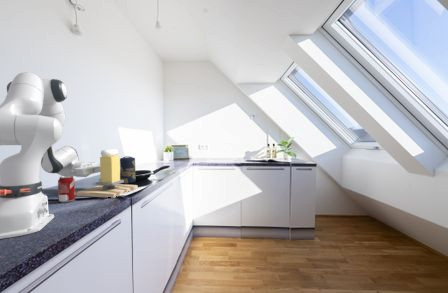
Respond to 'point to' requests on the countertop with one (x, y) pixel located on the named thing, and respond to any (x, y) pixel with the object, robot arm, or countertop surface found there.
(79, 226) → the countertop surface
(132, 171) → the canister
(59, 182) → the soda can
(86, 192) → the wooden slatted trivet
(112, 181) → the yellow boxy piece
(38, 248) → the countertop surface
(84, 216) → the countertop surface
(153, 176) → the countertop surface
